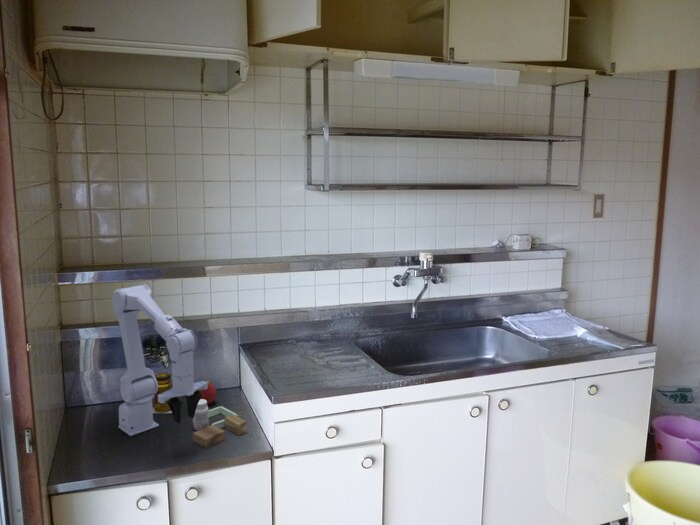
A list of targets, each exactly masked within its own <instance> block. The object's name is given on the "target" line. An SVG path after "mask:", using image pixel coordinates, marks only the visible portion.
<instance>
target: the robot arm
mask: <svg viewBox="0 0 700 525" xmlns="http://www.w3.org/2000/svg"><path fill="white" fill-rule="evenodd" d="M153 297H154V295H153V291H152V290H151V288H150V287H149V285H147V284H140V285H135V286H131V287H123V288H117V289H115V290H113V293H112V295H111V303H112V310H113V312H114V317H117V319H118V320H117V321H118V324H119V330H120V334H121V335H120V336H121V340H122V346H123V351H124V352H123V353H124V357H125V362H126V368H127V370H126V371H125V372H124V374H123V375H122V376H121V377H120V379H119V380H120V381H119V382H120V390H119V392H120V396H121V398H122V400H123V401H124V402H123V403H121V404H120V405H119V406H118V424H119V425H118V428H119V429H120V430H121V431H122V432H124V433H125V434H127V435H128V436H129V437H131V436H135V435H138V434H140V433H143V432H146V431H149V430H152V429H154V428H157V427H159V426H160V424H159V423H158V422H156V421H154V413H153V408H154V404H153V399H154V394H156V393H157V390H158V382H157V380H156V378H155V371H154V370H152V369H150V368H149V367H147V366H146V364H145V363H146V362H145V357H144V352H143V346H142V340H141V335H140V329H139V323H138V318H137V317H138V315H139V314H140V312H142V313H143V314H144V315H146V316H147V317H148V318H149V320H151V321H152V322H153V323H154V326H153V327H154V330H155V331H156V332H157V334H159V336H161V337H162V339H163V340H164V341H165V342H166V343H165V345H166V348H167V352H168V354H169V359H170V361H171V382H172V388H171V389H170V390H168V391H166V392H164V393H162V394H159V395H158V402H160V403H165V401H166V402H167V404H168V405H169V407H170V409H171V412H172V413H171V414H172V417H173V421H174V422H175V423H177V424H179V423H181V410H182V408H181V407H182V403H183V402H182V401H181V400H180V399H179V398H180V397H184V396H185V399H186V404H187V416H188V417H189V418H191V419H193V418H194V415H195V411H196V407H197V405H198V402H199V400H200V399H201V397H202V393H200V392H199V390H202V389H204V390H206V389H207V382H206V381H205V380H202V381H197V382H194V380H195V379H194V352H193V350H194V351H195V349H197V346H198V339H197V336H196V334H195V333H194V331H193V330H191V329H187V328H183V327H182V326H181V325H180V324H179V322H177V320H176V319H175V318H174V317H173V316H172V315H170V314H165V313H164V312H163V310H161V307H159V305H158V304H157V303H156V302H155V300H154V298H153Z"/></svg>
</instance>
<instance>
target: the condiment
mask: <svg viewBox="0 0 700 525" xmlns="http://www.w3.org/2000/svg"><path fill="white" fill-rule="evenodd" d="M154 375H155V378H156V380H157V382H158V390H157V393H156V394H154V398H153V414H172V412H171V409H170V407H169V405H168V404H167V402H166V401H165V403H160V402H158V395H159V394H162V393H164V392H166V391H168V390H170V389H171V388H173V384H172V374H170V373H169V372H158V373H156V374H155V373H154Z"/></svg>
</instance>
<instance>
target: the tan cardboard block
mask: <svg viewBox="0 0 700 525" xmlns="http://www.w3.org/2000/svg"><path fill="white" fill-rule="evenodd" d="M225 440H226V431H225V430H224V429H222V428H220V429H219V428H217V427H215V426H213V425H212V424H210V425H209V426H208V427H206V428H204V429H201V430H196V431H194V432H192V442H193V443H195V444H196V445H199V446H201V447H203V448H204V447H205V448H204V449H207V448H209V447H211V446H214V445H216V444H218V443H221V442H223V441H225Z"/></svg>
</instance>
